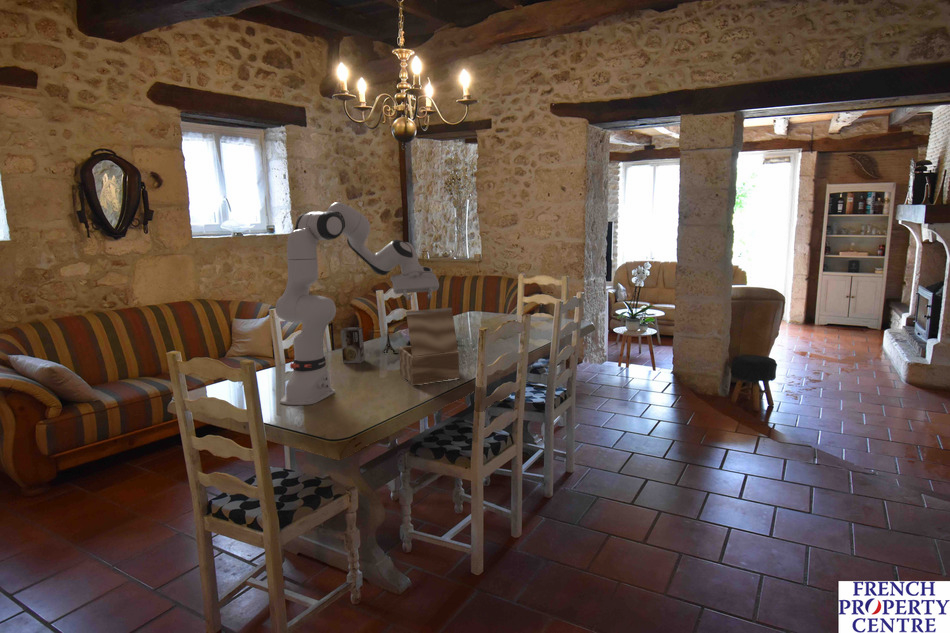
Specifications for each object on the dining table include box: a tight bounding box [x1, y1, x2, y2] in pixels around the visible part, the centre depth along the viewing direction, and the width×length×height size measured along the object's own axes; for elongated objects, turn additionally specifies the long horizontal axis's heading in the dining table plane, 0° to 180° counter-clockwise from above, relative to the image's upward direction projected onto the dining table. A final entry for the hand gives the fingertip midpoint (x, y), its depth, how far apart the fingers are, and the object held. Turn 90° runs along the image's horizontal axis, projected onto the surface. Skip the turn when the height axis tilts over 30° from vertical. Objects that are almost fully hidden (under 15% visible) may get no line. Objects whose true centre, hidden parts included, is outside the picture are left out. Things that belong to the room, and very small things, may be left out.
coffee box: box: [340, 326, 365, 364], centre depth 273 cm, size 9×6×16 cm
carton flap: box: [405, 307, 459, 356], centre depth 235 cm, size 18×19×1 cm
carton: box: [398, 345, 460, 386], centre depth 244 cm, size 20×20×12 cm
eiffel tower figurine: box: [371, 328, 396, 355], centre depth 291 cm, size 15×10×13 cm
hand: (419, 298), depth 247 cm, fingers open, 8 cm apart
